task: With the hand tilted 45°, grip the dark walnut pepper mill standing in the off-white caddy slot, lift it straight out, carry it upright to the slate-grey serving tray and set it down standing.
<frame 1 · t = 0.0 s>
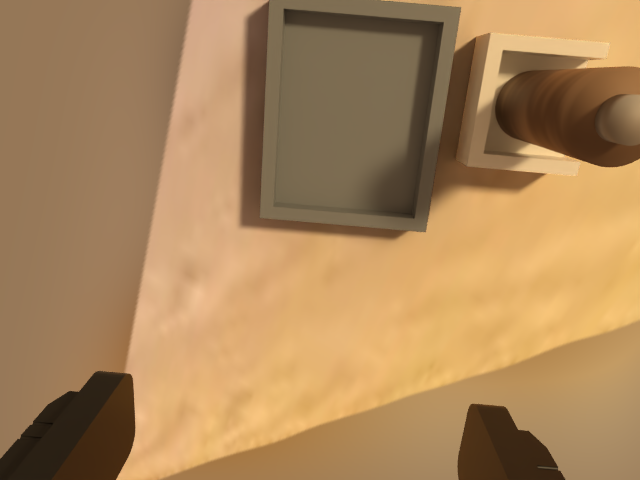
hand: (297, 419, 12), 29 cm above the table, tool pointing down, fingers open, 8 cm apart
caddy slot: (524, 105, 37), on the table
serving tray: (352, 117, 38), on the table
pepper mill: (529, 106, 36), point 1 cm above the table, touching caddy slot
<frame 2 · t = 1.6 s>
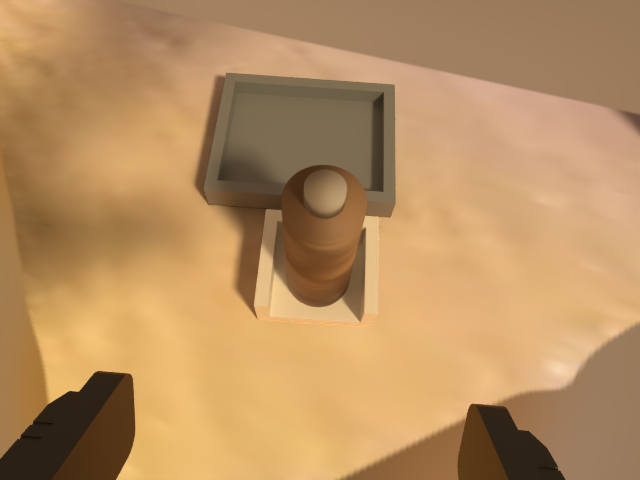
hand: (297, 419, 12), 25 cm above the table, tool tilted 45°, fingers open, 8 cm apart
caddy slot: (317, 281, 40), on the table
serving tray: (305, 150, 46), on the table
pepper mill: (318, 277, 39), point 1 cm above the table, touching caddy slot
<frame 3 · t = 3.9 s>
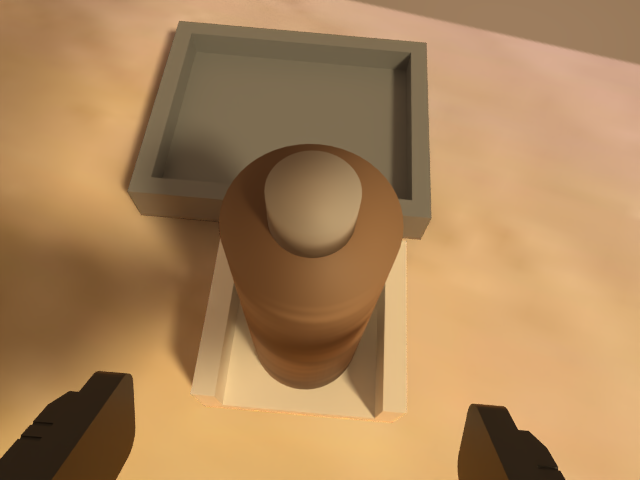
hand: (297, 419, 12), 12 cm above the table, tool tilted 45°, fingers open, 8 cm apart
caddy slot: (305, 342, 25), on the table
serving tray: (292, 136, 31), on the table
pepper mill: (305, 337, 24), point 1 cm above the table, touching caddy slot
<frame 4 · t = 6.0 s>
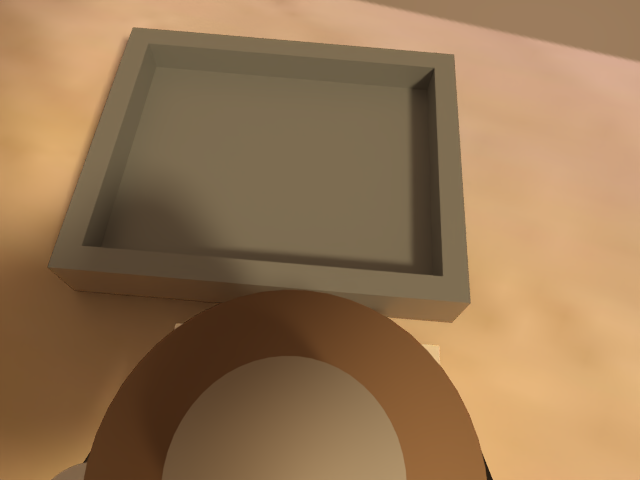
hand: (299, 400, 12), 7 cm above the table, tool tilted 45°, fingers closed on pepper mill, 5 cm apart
serving tray: (280, 178, 23), on the table
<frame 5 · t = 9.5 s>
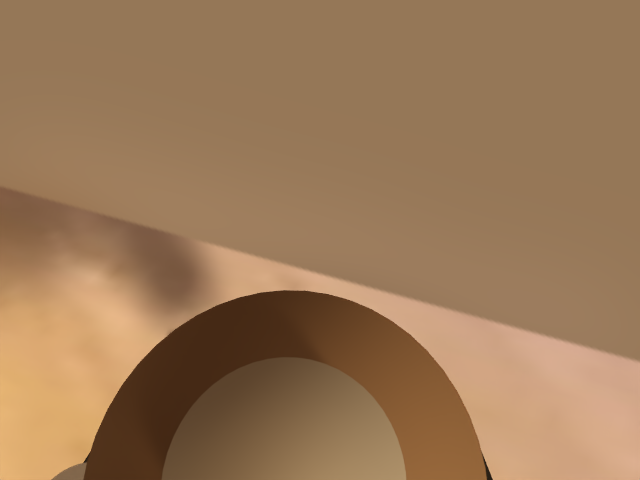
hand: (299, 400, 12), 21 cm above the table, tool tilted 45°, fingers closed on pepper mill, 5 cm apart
when the fingers open (8 cm above the table, at t = 12.9 s): pepper mill drops 1 cm, resting on serving tray.
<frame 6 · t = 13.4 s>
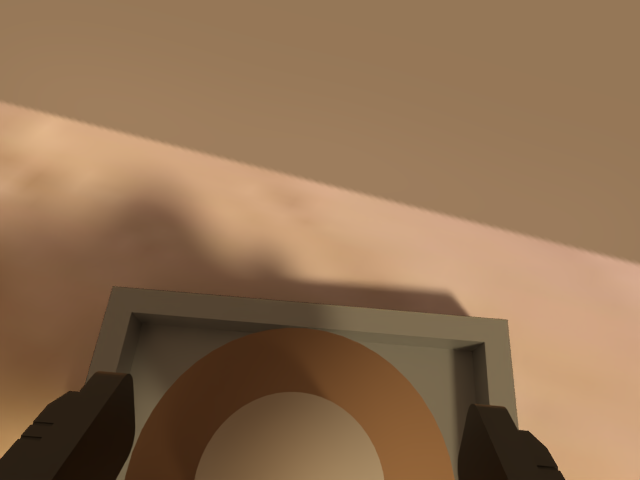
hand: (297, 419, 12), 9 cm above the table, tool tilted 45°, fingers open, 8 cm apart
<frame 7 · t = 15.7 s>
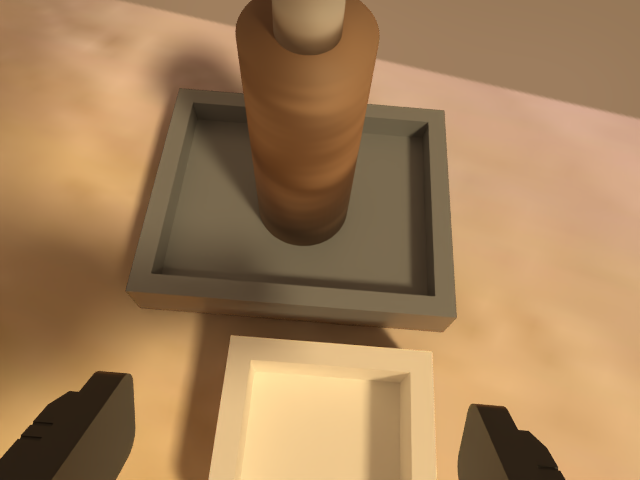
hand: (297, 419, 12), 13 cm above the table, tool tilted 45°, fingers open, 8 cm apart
caddy slot: (321, 457, 23), on the table
serving tray: (302, 213, 29), on the table
pepper mill: (303, 206, 28), point 1 cm above the table, touching serving tray
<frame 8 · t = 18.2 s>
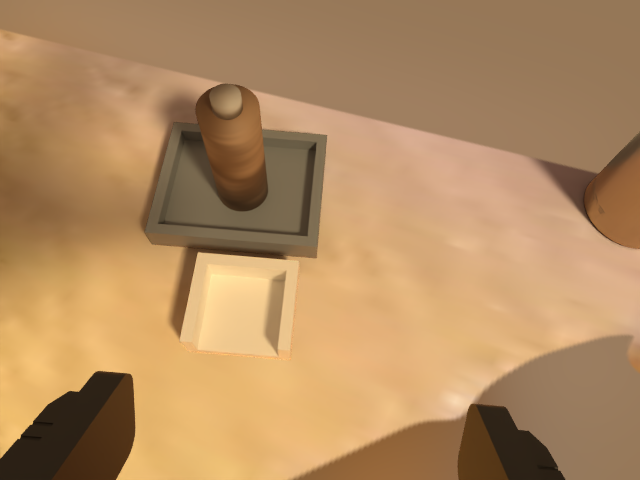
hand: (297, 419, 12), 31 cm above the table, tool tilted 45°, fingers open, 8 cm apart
caddy slot: (245, 317, 44), on the table
serving tray: (243, 194, 50), on the table
pepper mill: (243, 190, 49), point 1 cm above the table, touching serving tray
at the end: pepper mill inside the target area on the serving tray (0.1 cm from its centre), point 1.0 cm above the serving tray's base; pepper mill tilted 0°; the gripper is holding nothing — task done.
